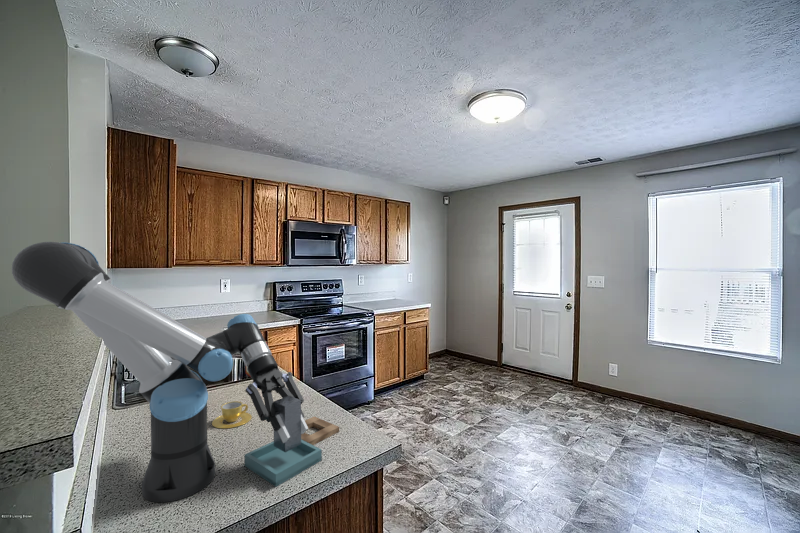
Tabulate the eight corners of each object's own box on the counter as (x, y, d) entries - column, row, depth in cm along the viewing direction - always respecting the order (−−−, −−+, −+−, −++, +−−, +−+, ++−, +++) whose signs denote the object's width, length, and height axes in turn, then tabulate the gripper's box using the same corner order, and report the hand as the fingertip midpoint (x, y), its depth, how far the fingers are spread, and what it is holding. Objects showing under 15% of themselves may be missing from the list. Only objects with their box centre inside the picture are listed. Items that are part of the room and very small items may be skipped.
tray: (276, 486, 85) (276, 474, 85) (244, 465, 93) (244, 454, 93) (321, 460, 96) (321, 449, 96) (289, 443, 105) (289, 433, 105)
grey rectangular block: (285, 452, 92) (284, 406, 91) (273, 446, 95) (273, 401, 94) (301, 444, 96) (300, 400, 95) (289, 438, 99) (289, 395, 98)
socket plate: (308, 447, 103) (308, 442, 103) (283, 434, 110) (283, 430, 110) (339, 431, 112) (339, 426, 112) (314, 420, 119) (314, 416, 119)
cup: (216, 433, 111) (216, 416, 111) (208, 419, 120) (208, 403, 120) (256, 422, 119) (256, 406, 118) (245, 410, 128) (245, 395, 128)
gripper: (281, 361, 111) (316, 429, 102) (224, 377, 97) (258, 457, 87) (291, 347, 108) (329, 415, 98) (233, 361, 93) (271, 443, 84)
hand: (296, 435), depth 93 cm, fingers closed on grey rectangular block, 5 cm apart
